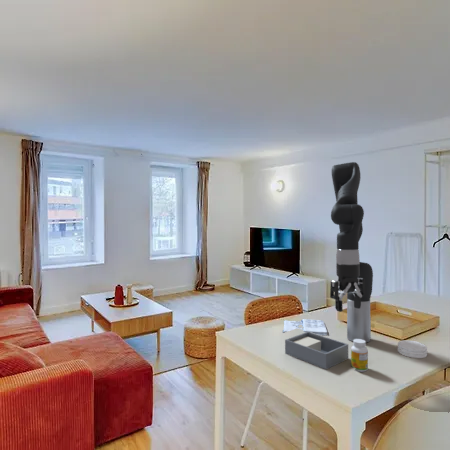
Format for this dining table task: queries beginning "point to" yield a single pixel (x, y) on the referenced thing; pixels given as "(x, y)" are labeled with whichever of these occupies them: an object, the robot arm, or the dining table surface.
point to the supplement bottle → (359, 355)
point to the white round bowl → (412, 349)
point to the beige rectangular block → (309, 343)
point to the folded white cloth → (306, 326)
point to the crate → (325, 358)
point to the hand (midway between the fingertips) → (348, 309)
